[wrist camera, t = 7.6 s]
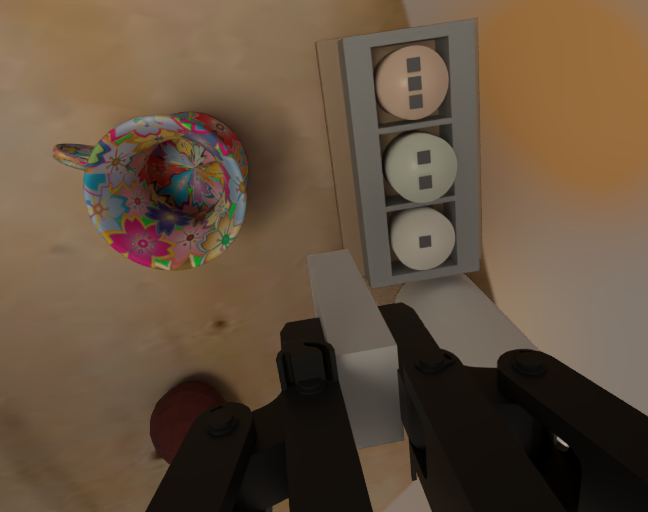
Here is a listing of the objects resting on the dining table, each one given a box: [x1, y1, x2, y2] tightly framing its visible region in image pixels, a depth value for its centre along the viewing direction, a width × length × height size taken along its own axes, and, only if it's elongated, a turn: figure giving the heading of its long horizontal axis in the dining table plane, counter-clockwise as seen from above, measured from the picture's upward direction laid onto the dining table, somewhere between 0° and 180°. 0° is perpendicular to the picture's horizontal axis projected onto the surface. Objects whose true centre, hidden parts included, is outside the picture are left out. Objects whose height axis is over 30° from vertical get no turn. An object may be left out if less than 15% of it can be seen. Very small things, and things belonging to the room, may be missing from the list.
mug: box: [53, 112, 248, 270], centre depth 32 cm, size 12×9×11 cm
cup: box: [394, 273, 567, 446], centre depth 36 cm, size 8×8×16 cm
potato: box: [150, 381, 226, 464], centre depth 42 cm, size 7×8×6 cm
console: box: [315, 18, 482, 289], centre depth 37 cm, size 12×19×4 cm, turn 8°
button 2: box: [382, 131, 457, 203], centre depth 35 cm, size 5×5×3 cm
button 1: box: [387, 205, 455, 270], centre depth 38 cm, size 5×5×3 cm
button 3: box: [373, 45, 449, 120], centre depth 34 cm, size 5×5×3 cm
